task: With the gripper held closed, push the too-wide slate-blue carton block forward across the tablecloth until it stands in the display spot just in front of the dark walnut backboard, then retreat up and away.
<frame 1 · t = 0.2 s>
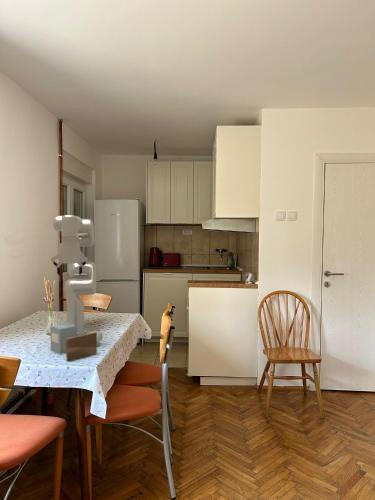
hand: (69, 275, 179), 36 cm above the table, tool pointing down, fingers open, 9 cm apart
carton: (75, 323, 240), on the table
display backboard: (82, 357, 167), on the table
sage mug: (93, 345, 186), on the table
blue carton: (63, 350, 178), on the table
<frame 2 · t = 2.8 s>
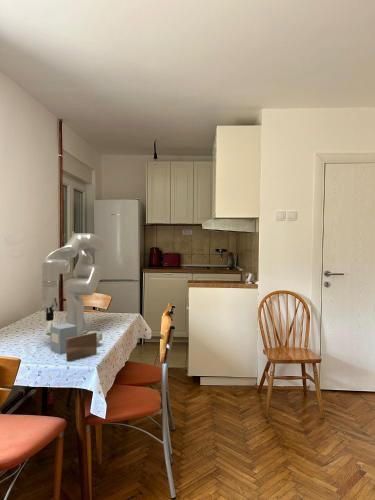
hand: (49, 320, 186), 13 cm above the table, tool pointing down, fingers closed
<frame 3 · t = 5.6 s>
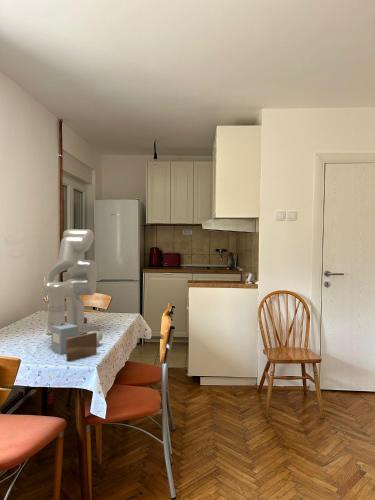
hand: (56, 345, 182), 1 cm above the table, tool pointing down, fingers closed
blue carton: (65, 350, 177), on the table, touching gripper
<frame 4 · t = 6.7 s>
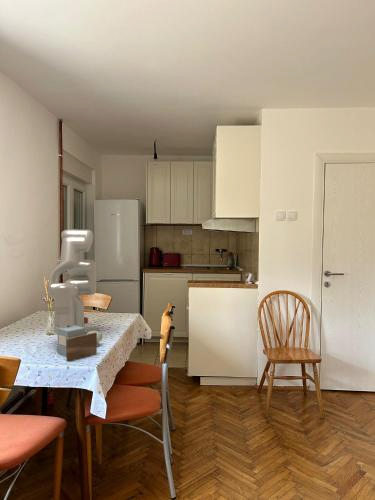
hand: (63, 347, 178), 1 cm above the table, tool pointing down, fingers closed
blue carton: (71, 353, 173), on the table, touching gripper
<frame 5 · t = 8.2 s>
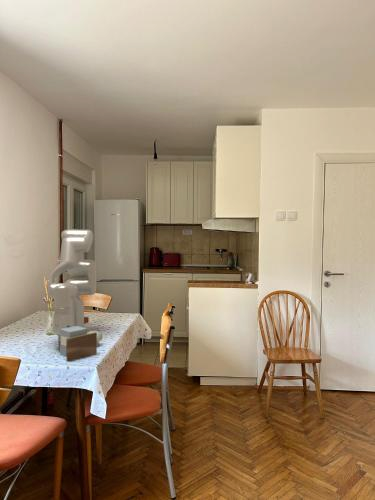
hand: (62, 347, 179), 1 cm above the table, tool pointing down, fingers closed
blue carton: (73, 354, 172), on the table
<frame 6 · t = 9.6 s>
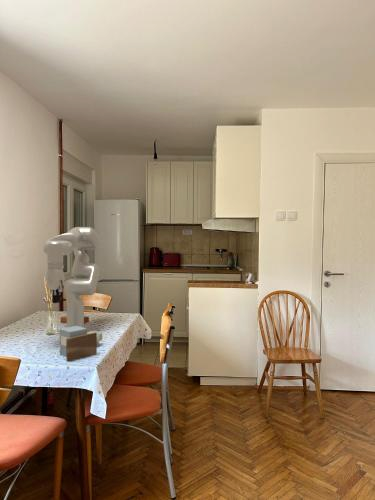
hand: (56, 302, 183), 22 cm above the table, tool pointing down, fingers closed
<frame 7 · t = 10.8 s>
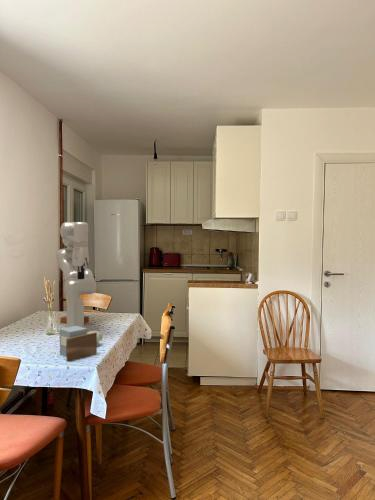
hand: (80, 279, 197), 33 cm above the table, tool pointing down, fingers closed
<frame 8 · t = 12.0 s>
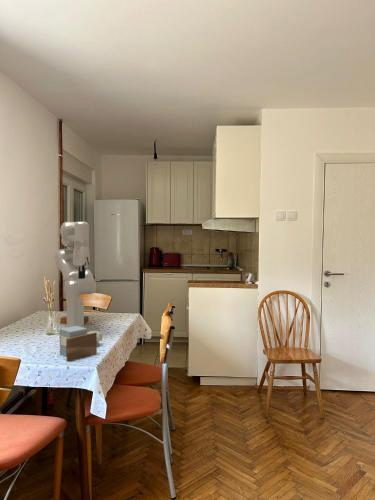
hand: (81, 278, 197), 33 cm above the table, tool pointing down, fingers closed
at the end: blue carton inside the target area (1.5 cm from its centre), on the table; blue carton tilted 0°; blue carton moved 8.7 cm from its start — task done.
